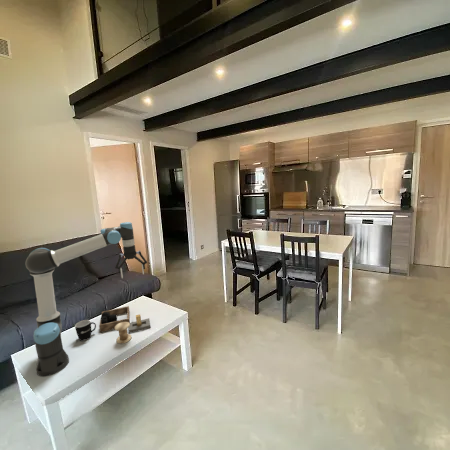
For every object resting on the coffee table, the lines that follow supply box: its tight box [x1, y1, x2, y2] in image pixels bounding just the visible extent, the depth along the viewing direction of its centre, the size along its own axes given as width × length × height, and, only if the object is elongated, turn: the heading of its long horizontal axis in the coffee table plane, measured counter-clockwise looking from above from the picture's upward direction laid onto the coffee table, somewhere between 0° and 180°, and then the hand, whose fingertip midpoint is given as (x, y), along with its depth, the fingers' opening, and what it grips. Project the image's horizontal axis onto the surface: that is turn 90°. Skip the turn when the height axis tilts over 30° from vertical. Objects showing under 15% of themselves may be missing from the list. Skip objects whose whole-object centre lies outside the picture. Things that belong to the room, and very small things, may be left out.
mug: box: [74, 319, 97, 341], centre depth 168 cm, size 12×9×10 cm
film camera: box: [100, 311, 118, 324], centre depth 182 cm, size 15×10×9 cm, turn 19°
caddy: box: [98, 305, 131, 333], centre depth 185 cm, size 19×21×5 cm
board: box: [128, 317, 152, 334], centre depth 176 cm, size 14×10×2 cm
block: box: [135, 313, 142, 326], centre depth 175 cm, size 3×3×8 cm
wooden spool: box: [114, 322, 132, 345], centre depth 162 cm, size 9×9×10 cm
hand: (132, 275), depth 172 cm, fingers open, 13 cm apart
